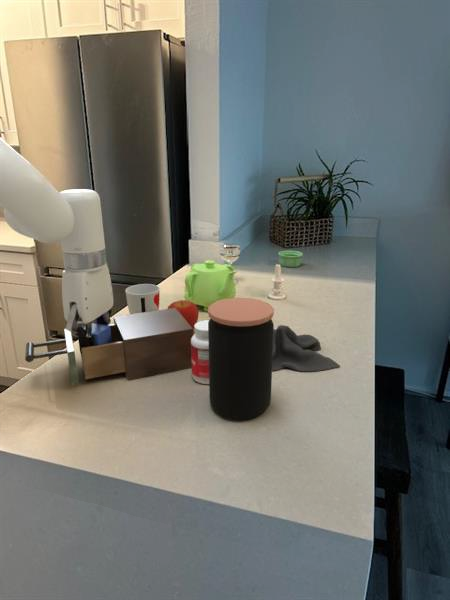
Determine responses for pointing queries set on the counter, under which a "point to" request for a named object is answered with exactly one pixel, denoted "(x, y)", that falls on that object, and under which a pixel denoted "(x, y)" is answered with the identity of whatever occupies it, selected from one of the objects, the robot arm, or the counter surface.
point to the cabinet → (155, 342)
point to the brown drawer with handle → (87, 356)
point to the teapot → (209, 283)
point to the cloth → (298, 352)
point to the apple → (186, 311)
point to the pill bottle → (200, 352)
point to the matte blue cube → (101, 334)
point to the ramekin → (290, 258)
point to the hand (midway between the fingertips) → (96, 347)
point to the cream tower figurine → (277, 285)
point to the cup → (142, 298)
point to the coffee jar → (240, 357)
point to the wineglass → (230, 253)
